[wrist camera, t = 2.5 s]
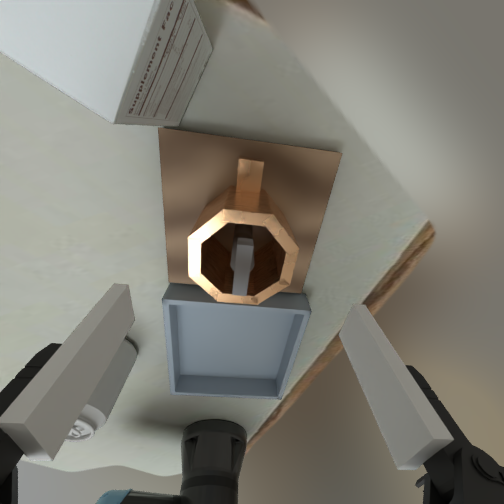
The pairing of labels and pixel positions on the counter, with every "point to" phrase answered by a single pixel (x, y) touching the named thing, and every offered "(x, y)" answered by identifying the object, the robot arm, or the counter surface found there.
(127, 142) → the counter surface
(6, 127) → the counter surface
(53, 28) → the supplement box
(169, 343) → the tray
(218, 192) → the stake stand
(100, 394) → the can
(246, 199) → the mug
